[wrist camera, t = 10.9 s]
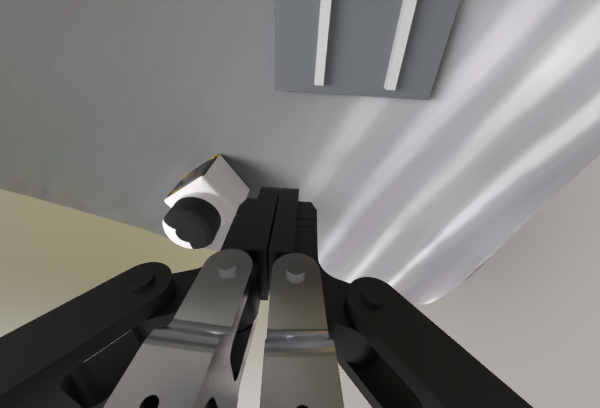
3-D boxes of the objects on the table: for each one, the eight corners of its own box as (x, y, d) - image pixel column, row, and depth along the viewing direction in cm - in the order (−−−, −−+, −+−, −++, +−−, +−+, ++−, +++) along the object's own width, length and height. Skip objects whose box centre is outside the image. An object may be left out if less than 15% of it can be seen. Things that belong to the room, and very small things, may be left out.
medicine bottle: (219, 152, 36) (185, 198, 26) (250, 189, 40) (230, 242, 30) (184, 175, 39) (141, 225, 29) (216, 208, 42) (187, 263, 32)
